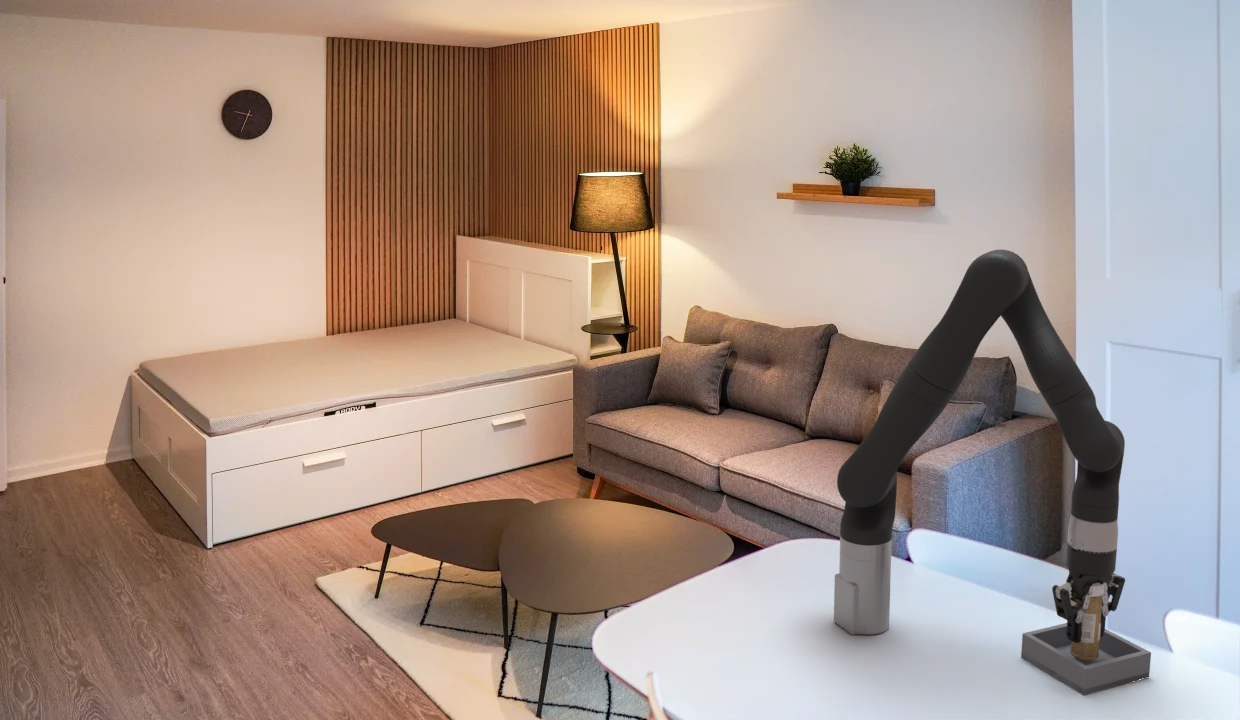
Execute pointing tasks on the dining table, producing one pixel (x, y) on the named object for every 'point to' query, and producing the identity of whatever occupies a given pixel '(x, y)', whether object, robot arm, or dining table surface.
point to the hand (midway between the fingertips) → (1085, 637)
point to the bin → (1109, 670)
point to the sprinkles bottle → (1090, 627)
